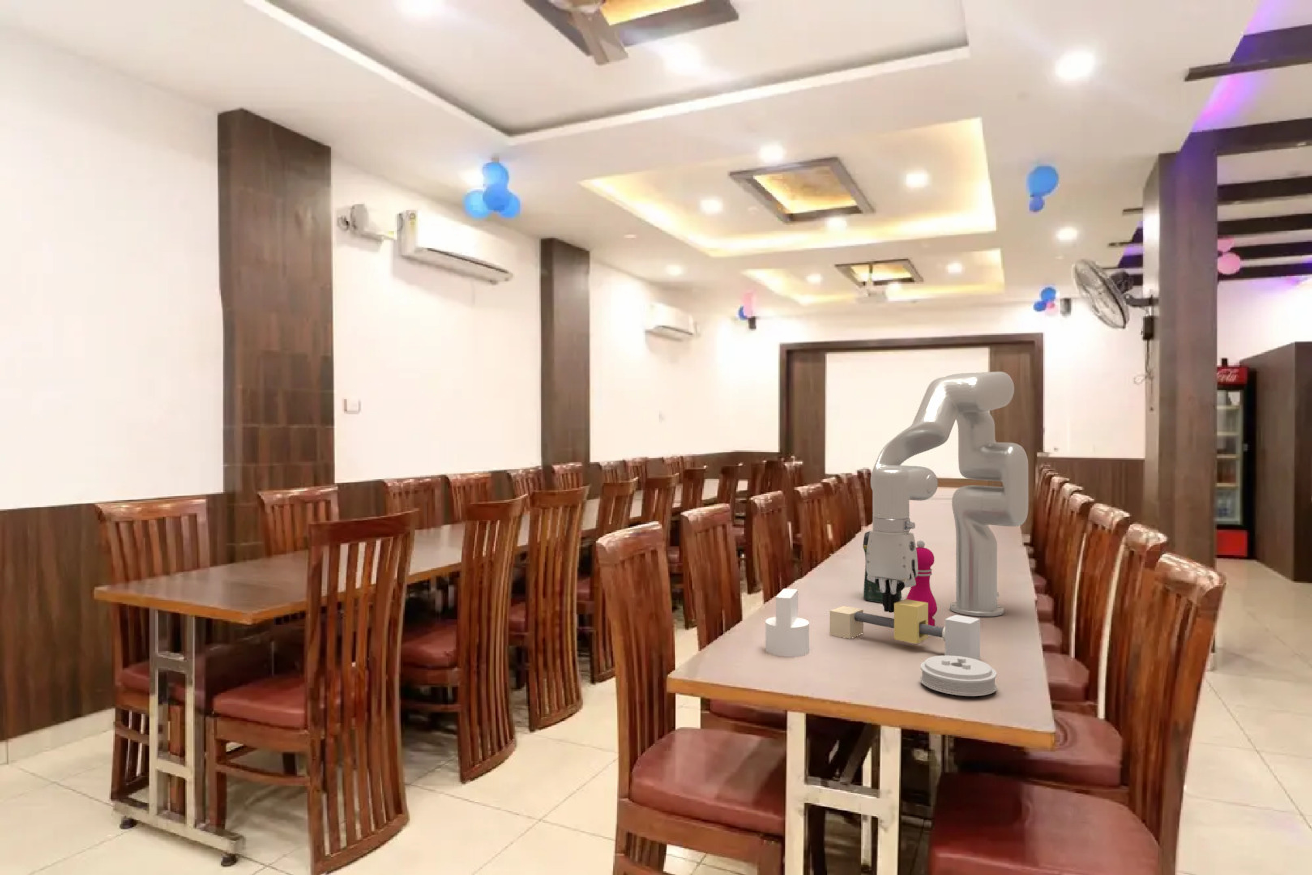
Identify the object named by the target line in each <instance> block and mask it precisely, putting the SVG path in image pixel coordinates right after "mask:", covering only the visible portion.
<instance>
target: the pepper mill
mask: <svg viewBox="0 0 1312 875" xmlns="http://www.w3.org/2000/svg"><path fill="white" fill-rule="evenodd" d="M925 545H926V544H925V542H924V541H923V540H918V541H917V542H916V550H917V561H918V576H917V577H916V578H915V582H916V585H915V586H913V587H910V590H909V592H908V593H907V596H906V597H905V599H908V600H914V601H920V602H926V603H928V625H931V626H936V624H935V623H936V620H935V618H934V616H935V615H936V613H937V612H938V606H937V604H938V603H937V601H936V599H935V596H934V595H933V592H932V589H931V582H930V580H931V576H932V575H933V573H932V571H933V569H932V568H931V567H932V566H933V565H934V564H935V555H934V553H933V551H932V550H930V549H929V548H927V547H925Z"/></svg>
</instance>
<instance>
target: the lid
mask: <svg viewBox="0 0 1312 875" xmlns="http://www.w3.org/2000/svg"><path fill="white" fill-rule="evenodd" d="M919 668H920V670H921V676H920V682H921V684H922V685H924V686H925V687H927V688H929V689H931V690H934V691H937V692H941V693H945V694H950V695H953V696H954V695H955V696H965V697H978V696H987V695H990V694H992V693H993V694H994V693H995V692H996V691H997V688H998V687H997V684H996V682H995V680H996V678H997V676H998V674H997V671H996V670H995V669H994V668H992V666H991V665H990V664H988V663H986V662H985V661H981V660H980V659H978V660H976V659H972V658H968V657H961V656H945V655H935V656H930V657H928V658H926V659H925V660H924V661H922V662H921V663H920V667H919Z"/></svg>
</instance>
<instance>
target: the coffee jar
mask: <svg viewBox="0 0 1312 875" xmlns="http://www.w3.org/2000/svg"><path fill="white" fill-rule="evenodd" d="M870 531H871V530H869V531H867V532H865V533H864V536H863V542H862V548H863V551H864V556H865V561H866V554H867V545H868V539H869V534H870ZM864 567H865V569H864V581H863V582H864V583H863V592H862V593H863V594H862V595H863V596H862V597H863V598H864V599H865V600H866V601H870V602H873V601H875V603H881V602H882V604H883V593H882V592H881V591H880V588H879V587H878V585H877V584H876V583H874V582H871V581H869V580H868V579H867V575H868V574H867V571H866V564H865V566H864ZM890 582H891V584H892V580H890ZM899 601H902V591H901V592H900V593H899Z"/></svg>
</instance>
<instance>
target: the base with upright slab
mask: <svg viewBox="0 0 1312 875" xmlns="http://www.w3.org/2000/svg"><path fill="white" fill-rule="evenodd" d="M765 651H766V653H768V654H770V655H773V656H777V657H785V658H796V657H798V658H799V657H803V656H805V654H806V655H808V654H809V653H810V622H809V620H807V619H805V618H802V617H799V589H795V588H782V590H781V591H780V592H779V593H778V594H777V595H776V597H775V616H774V617H769V618H767V619H765Z"/></svg>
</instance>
